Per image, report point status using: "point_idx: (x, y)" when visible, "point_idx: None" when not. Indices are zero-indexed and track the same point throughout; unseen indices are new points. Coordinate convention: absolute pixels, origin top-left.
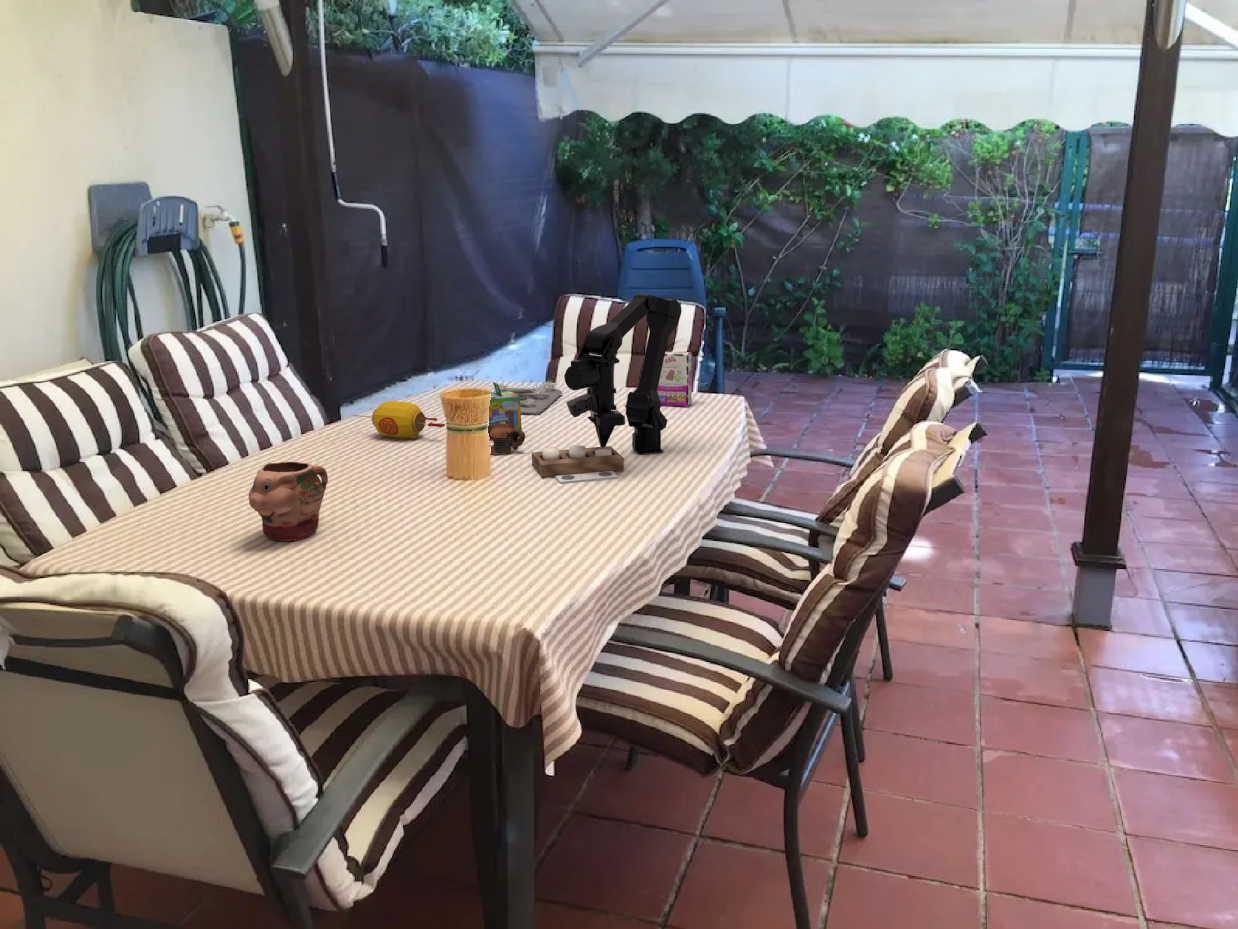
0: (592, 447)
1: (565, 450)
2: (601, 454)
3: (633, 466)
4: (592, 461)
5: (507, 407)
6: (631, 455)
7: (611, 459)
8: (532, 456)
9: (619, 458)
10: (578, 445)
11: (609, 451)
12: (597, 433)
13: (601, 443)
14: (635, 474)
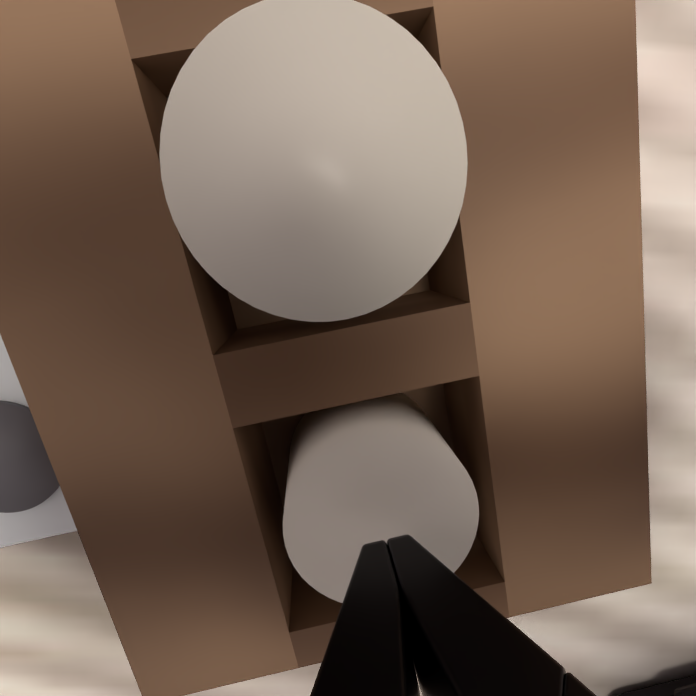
0: (643, 402)
1: (589, 31)
2: (287, 495)
3: None
4: (26, 377)
5: None
6: (612, 644)
7: (103, 587)
8: None
9: (130, 664)
10: (434, 204)
11: None
12: (497, 689)
13: (354, 591)
14: (84, 666)
